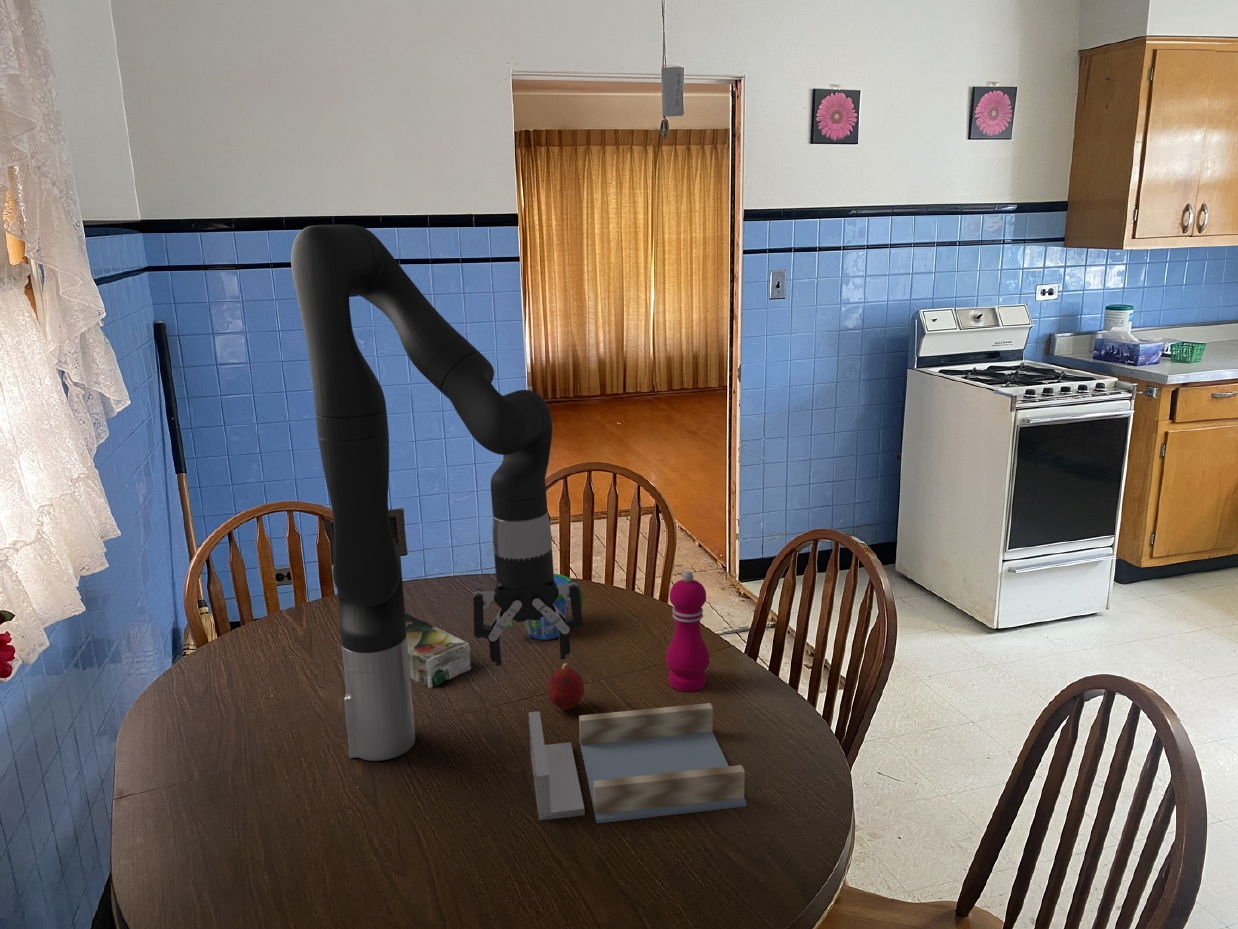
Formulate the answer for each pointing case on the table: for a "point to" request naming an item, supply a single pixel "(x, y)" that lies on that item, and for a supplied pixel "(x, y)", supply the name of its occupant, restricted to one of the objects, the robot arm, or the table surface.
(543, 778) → the bracket
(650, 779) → the walls
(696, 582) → the pepper mill
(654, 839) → the table surface
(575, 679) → the onion
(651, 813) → the board
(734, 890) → the table surface
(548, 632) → the snack cup
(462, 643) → the juice carton
